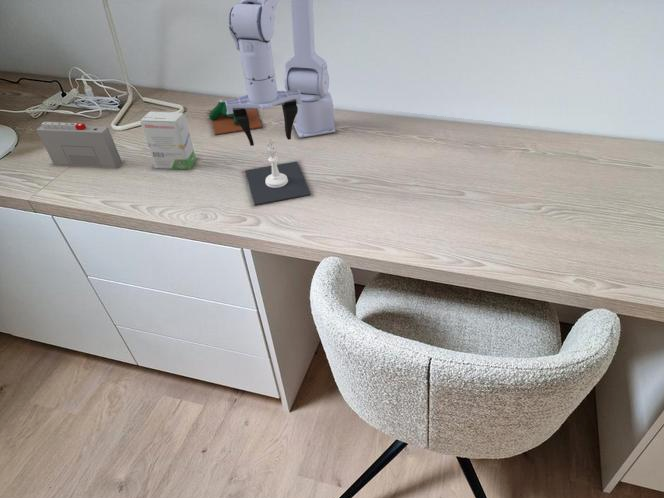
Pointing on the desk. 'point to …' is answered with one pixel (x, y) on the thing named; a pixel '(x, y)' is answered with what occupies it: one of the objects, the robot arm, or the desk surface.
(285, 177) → the chess piece
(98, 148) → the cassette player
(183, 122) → the ink box
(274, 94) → the robot arm
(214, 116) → the gaming controller
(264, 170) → the slate mat
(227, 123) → the cork mat
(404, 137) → the desk surface
